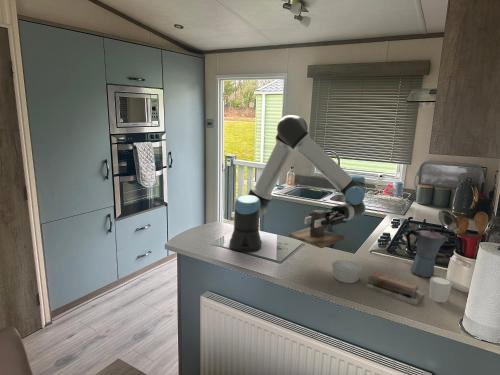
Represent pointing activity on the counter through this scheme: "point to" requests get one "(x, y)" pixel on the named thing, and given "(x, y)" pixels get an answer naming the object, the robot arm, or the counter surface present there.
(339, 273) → the ramekin
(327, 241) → the board with upright post
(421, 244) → the moka pot
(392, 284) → the packaged product
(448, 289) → the white cup
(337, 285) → the counter surface
